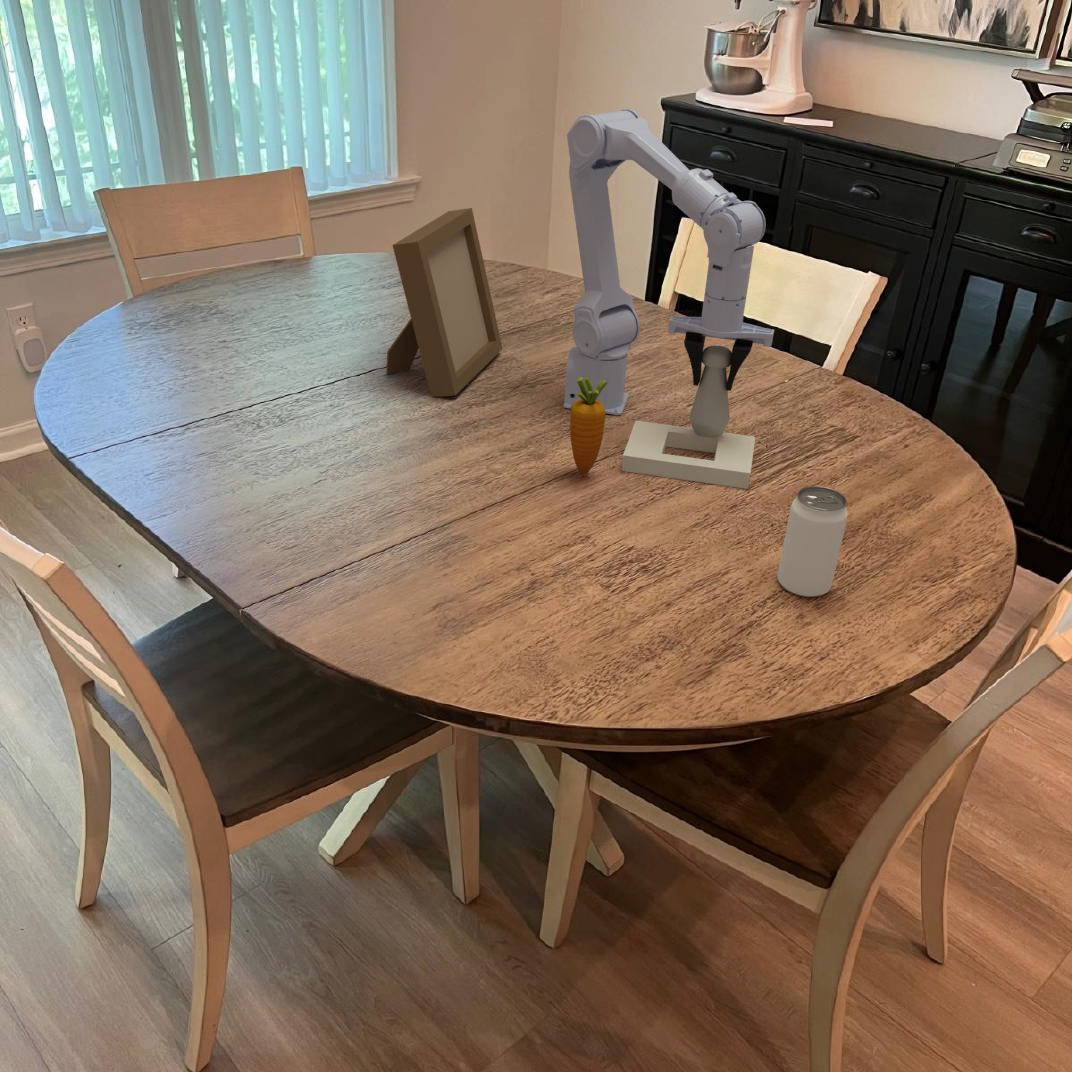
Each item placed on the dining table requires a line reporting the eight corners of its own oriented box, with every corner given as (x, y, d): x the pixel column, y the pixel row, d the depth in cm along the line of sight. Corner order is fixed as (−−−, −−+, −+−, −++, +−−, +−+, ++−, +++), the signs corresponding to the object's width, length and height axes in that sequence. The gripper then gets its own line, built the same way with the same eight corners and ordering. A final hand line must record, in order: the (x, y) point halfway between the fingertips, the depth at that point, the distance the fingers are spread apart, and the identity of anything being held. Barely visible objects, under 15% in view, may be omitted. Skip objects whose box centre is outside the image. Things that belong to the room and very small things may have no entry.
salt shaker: (724, 442, 150) (735, 357, 143) (685, 437, 151) (694, 352, 145) (729, 426, 155) (740, 344, 148) (691, 421, 156) (701, 339, 149)
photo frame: (502, 354, 184) (503, 211, 170) (455, 400, 166) (452, 246, 153) (426, 342, 188) (421, 202, 174) (372, 387, 170) (362, 234, 157)
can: (770, 569, 127) (786, 484, 121) (821, 568, 128) (839, 483, 122) (785, 599, 122) (803, 512, 116) (838, 598, 123) (859, 511, 116)
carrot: (604, 471, 148) (613, 373, 140) (595, 486, 144) (603, 387, 136) (571, 464, 149) (578, 367, 141) (561, 479, 145) (567, 380, 137)
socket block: (621, 470, 148) (623, 455, 147) (634, 435, 158) (635, 420, 157) (748, 489, 145) (750, 473, 143) (752, 451, 155) (755, 436, 153)
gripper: (781, 292, 144) (766, 382, 151) (678, 279, 147) (668, 368, 154) (776, 308, 138) (761, 401, 145) (669, 294, 141) (659, 386, 148)
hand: (712, 385), depth 149 cm, fingers closed on salt shaker, 4 cm apart
